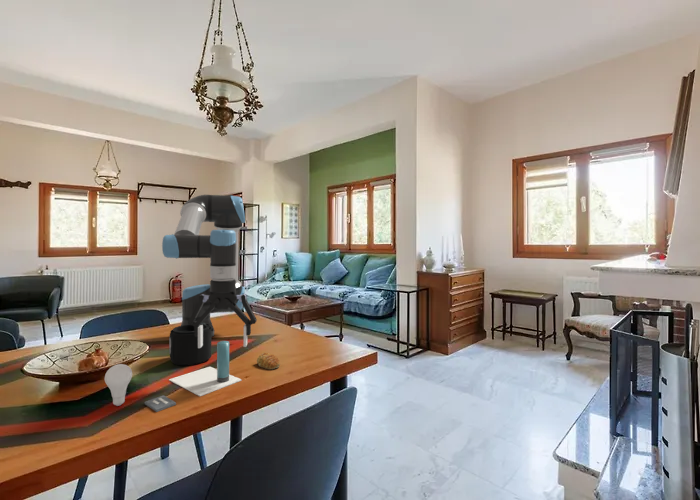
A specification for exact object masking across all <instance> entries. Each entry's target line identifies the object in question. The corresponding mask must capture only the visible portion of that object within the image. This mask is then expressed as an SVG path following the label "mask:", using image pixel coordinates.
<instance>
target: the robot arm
mask: <svg viewBox="0 0 700 500" xmlns="http://www.w3.org/2000/svg"><path fill="white" fill-rule="evenodd" d="M244 208H245V207H244V202H243V198H242V197H240V196H238V195H237V196H236V195H224V194H223V195H222V194H200V195H197V196H193V197H192V198H190V199H188V200H187V201H186V202H185V203H184V204H183V205H182V207H181V209H180V216H181V217H180V219H179V221H178V223H177V227H176V228H175V231H174V234H173V233H172V234H166V235H164V236H163V237H162V243H161V244H162V245H161V247H162V254H163V256H164V257H165V258H167V259H168V258H169V259H210V261H209V262H210V265H209V268H210V269H209V270H210V271H209V277H210V279H211V280H210V281H209V284H208V283H206V284H199V285H192V286H188V287H185V288H184V289H183V290H182V293H181V297H182V298H181V303H182V305H181V307H182V309H181V312H182V313H181V314H182V316H181V317H182V319H181V324H180V326H182V325H187V324H188V325H192V326H194V333H195V337H198V348H201V347H202V346H203V325H200V324H201V323H205V324H209V327H211V338H213V337H214V336H215V328H214V326H213V322H212V320H211V314H215V313H217V314H218V313H235V314H236V315H237V317H238V318H239V319H240V320H241V321H242V322H243V323H244V325H243V348H247V346H248V336H250V335H251V332H252V325H255V324H256V323H257V320H258V319H257V317H256V314H254V311H253V309H252V308H251V305H250V303H249V302H248V298H247V294H246V293H245V291H246V290H245V289H246V288H245V286H242V282H241V281H240V280H239V231H240V229H241V228H243V224H244V223H246V216H245V215H246V214H245V210H244ZM202 223H213V225H214V226H213V227H214V228H216V229H212V230H211V231H210V234H208V235H206V234H205V235H204V234H202V235H201V234H200V233H201V232H200V231H201V227H202ZM243 307H244V310H245V312H246V314H247V315H246V314H245V313H244V312H243V310H242V309H243Z"/></svg>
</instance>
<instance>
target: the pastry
mask: <svg viewBox="0 0 700 500" xmlns="http://www.w3.org/2000/svg"><path fill="white" fill-rule="evenodd" d="M256 363H257V365H258V366H259V367H260V368H263V369H266V370H274V369H277V368H279V367H280V365H281V363H280V360H279V358H278V356H276V355H275V354H273V353H269V352H263V353H261V354H260V355H259V356H258V357H257V359H256Z"/></svg>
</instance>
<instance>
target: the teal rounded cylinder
mask: <svg viewBox="0 0 700 500" xmlns="http://www.w3.org/2000/svg"><path fill="white" fill-rule="evenodd" d="M216 369H217V382H219V383H224V382H227V381H229V375H230V341H228V340H220V341H218V342H216Z"/></svg>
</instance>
